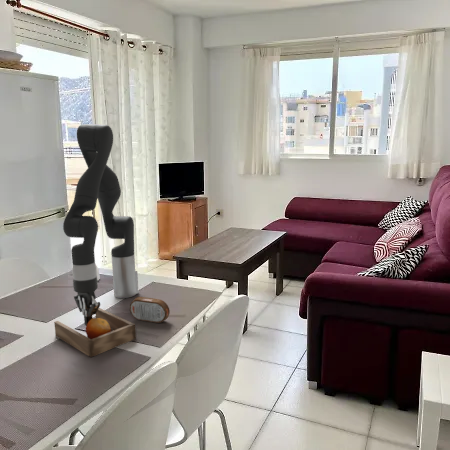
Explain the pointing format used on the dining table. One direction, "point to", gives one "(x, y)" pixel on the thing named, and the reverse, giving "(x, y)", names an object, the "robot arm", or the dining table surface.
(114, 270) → the robot arm
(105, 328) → the fruit
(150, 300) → the tin
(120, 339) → the wooden u-shaped frame
